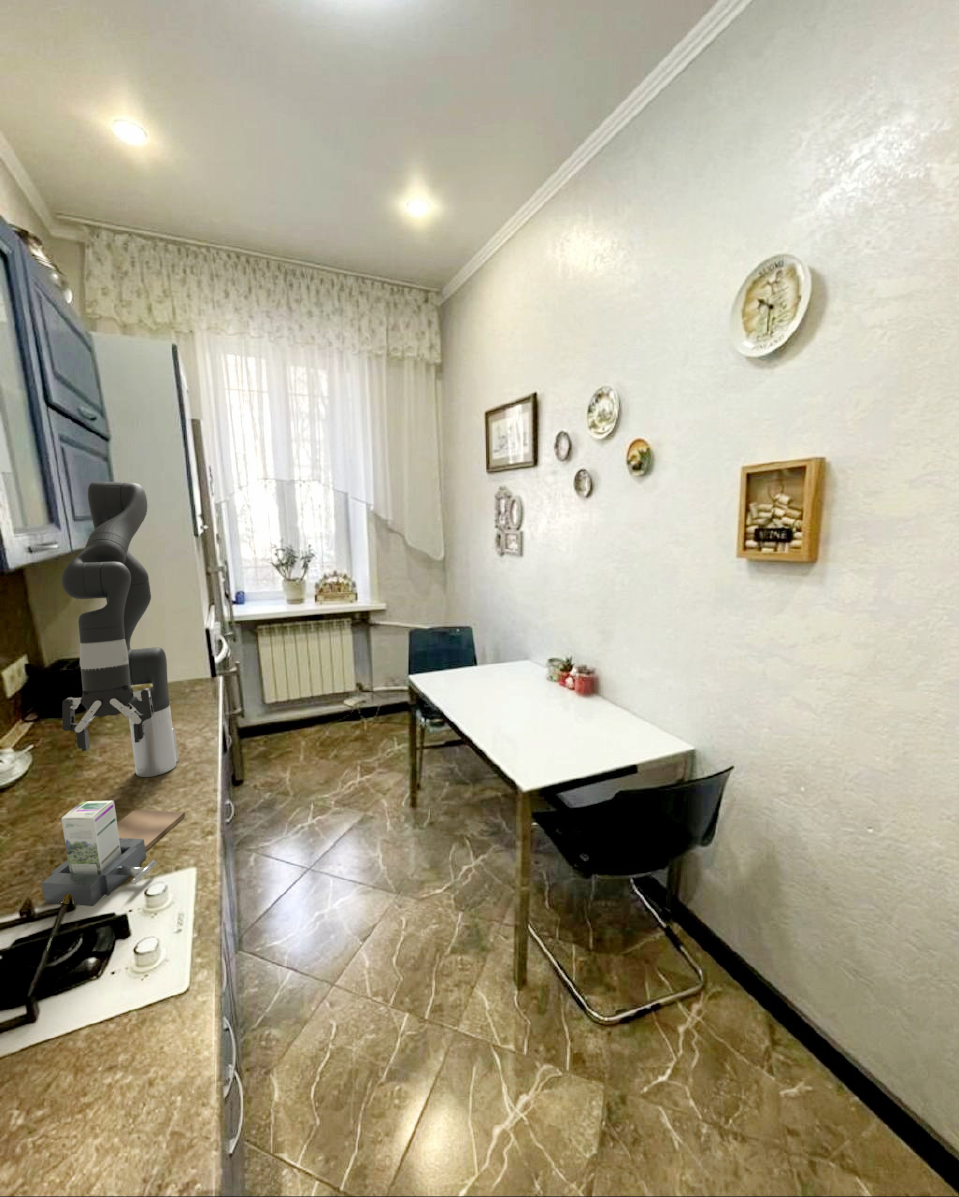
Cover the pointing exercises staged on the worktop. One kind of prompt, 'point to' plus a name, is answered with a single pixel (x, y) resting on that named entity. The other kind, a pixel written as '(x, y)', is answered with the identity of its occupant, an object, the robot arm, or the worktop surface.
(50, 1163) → the worktop surface
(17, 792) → the worktop surface
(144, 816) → the walnut board
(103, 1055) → the worktop surface
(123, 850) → the vise
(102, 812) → the syrup box
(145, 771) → the robot arm
